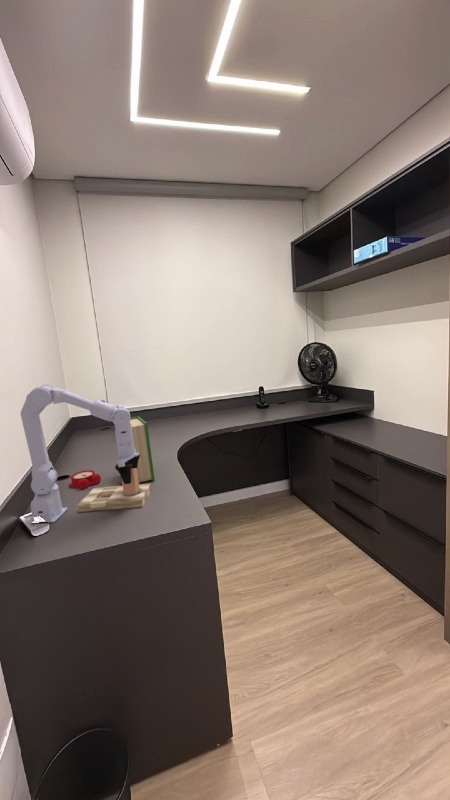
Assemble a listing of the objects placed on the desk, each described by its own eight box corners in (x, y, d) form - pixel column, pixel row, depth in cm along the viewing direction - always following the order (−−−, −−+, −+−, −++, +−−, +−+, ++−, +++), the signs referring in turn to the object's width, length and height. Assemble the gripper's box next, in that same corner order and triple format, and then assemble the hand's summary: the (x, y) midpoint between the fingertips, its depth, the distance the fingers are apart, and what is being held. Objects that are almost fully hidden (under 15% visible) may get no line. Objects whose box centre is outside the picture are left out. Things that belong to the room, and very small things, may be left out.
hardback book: (154, 480, 139) (146, 423, 135) (136, 485, 136) (127, 426, 133) (146, 468, 155) (138, 416, 151) (129, 472, 152) (121, 419, 149)
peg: (136, 494, 121) (133, 472, 120) (124, 495, 121) (120, 473, 120) (139, 488, 126) (136, 468, 124) (127, 489, 126) (124, 469, 125)
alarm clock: (87, 468, 152) (103, 466, 142) (91, 482, 152) (107, 481, 142) (64, 476, 144) (78, 475, 134) (67, 491, 144) (82, 491, 134)
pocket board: (142, 506, 117) (141, 499, 116) (78, 511, 118) (77, 504, 117) (151, 489, 131) (151, 483, 130) (95, 494, 132) (93, 487, 131)
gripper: (130, 447, 113) (136, 486, 115) (142, 435, 128) (146, 470, 130) (109, 449, 114) (115, 488, 116) (123, 437, 128) (128, 472, 130)
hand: (130, 479), depth 123 cm, fingers open, 7 cm apart
